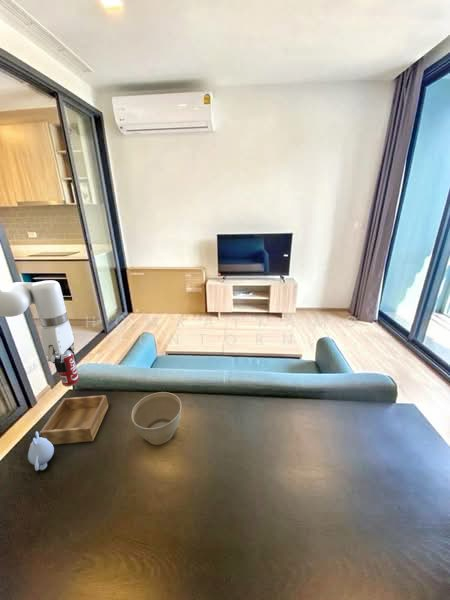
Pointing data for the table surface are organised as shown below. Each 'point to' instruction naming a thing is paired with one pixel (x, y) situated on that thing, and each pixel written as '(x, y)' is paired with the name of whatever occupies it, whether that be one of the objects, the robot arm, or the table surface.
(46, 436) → the wooden tray
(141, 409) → the planter bowl
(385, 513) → the table surface
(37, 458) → the toy figure
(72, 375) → the soda can
